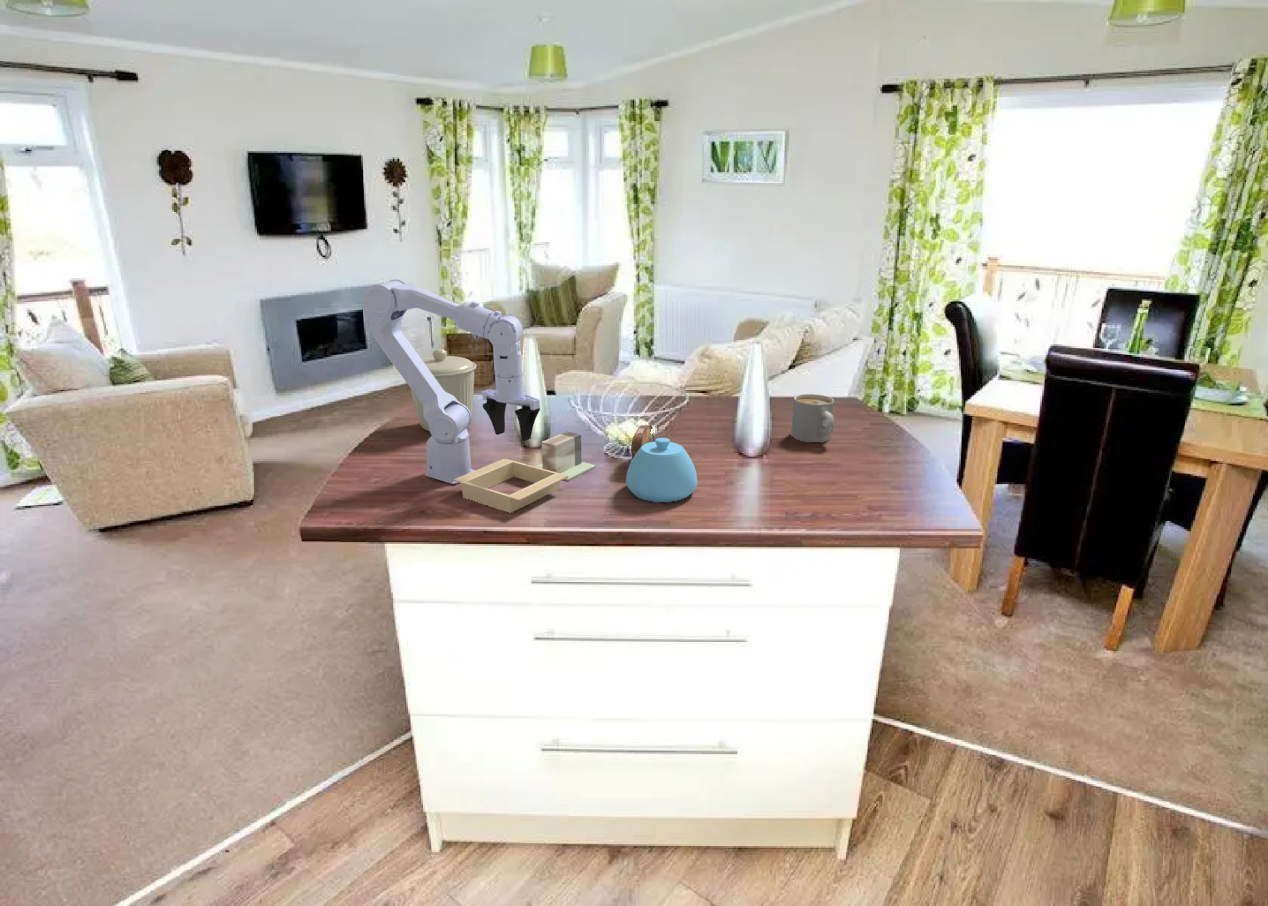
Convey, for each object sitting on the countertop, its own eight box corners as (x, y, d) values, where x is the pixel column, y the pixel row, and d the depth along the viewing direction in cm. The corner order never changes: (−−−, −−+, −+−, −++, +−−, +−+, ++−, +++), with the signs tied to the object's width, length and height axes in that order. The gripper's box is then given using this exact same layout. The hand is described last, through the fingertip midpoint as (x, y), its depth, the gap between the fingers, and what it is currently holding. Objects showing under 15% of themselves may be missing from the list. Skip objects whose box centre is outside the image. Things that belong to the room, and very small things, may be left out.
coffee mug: (785, 431, 193) (788, 394, 190) (821, 429, 195) (825, 393, 191) (804, 448, 181) (807, 409, 177) (842, 446, 182) (846, 407, 179)
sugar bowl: (687, 475, 164) (689, 426, 160) (704, 503, 150) (707, 449, 146) (620, 479, 161) (620, 429, 157) (632, 507, 147) (632, 453, 143)
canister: (427, 415, 205) (420, 340, 197) (489, 418, 202) (484, 343, 195) (399, 436, 188) (390, 355, 181) (466, 439, 186) (460, 357, 178)
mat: (530, 470, 166) (530, 468, 166) (558, 457, 174) (558, 455, 173) (568, 480, 160) (568, 478, 160) (596, 467, 168) (596, 465, 168)
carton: (454, 495, 152) (453, 479, 151) (505, 473, 164) (504, 458, 163) (519, 516, 143) (519, 499, 142) (568, 491, 155) (568, 475, 154)
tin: (643, 476, 163) (643, 440, 160) (629, 475, 164) (629, 439, 161) (654, 453, 177) (655, 420, 174) (642, 452, 177) (642, 419, 175)
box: (542, 471, 164) (541, 441, 162) (567, 459, 171) (567, 431, 169) (556, 475, 162) (555, 445, 159) (581, 463, 169) (580, 434, 166)
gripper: (548, 375, 152) (551, 437, 157) (496, 366, 160) (501, 426, 164) (525, 382, 147) (529, 446, 151) (473, 373, 154) (478, 434, 159)
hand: (513, 436), depth 157 cm, fingers open, 7 cm apart
